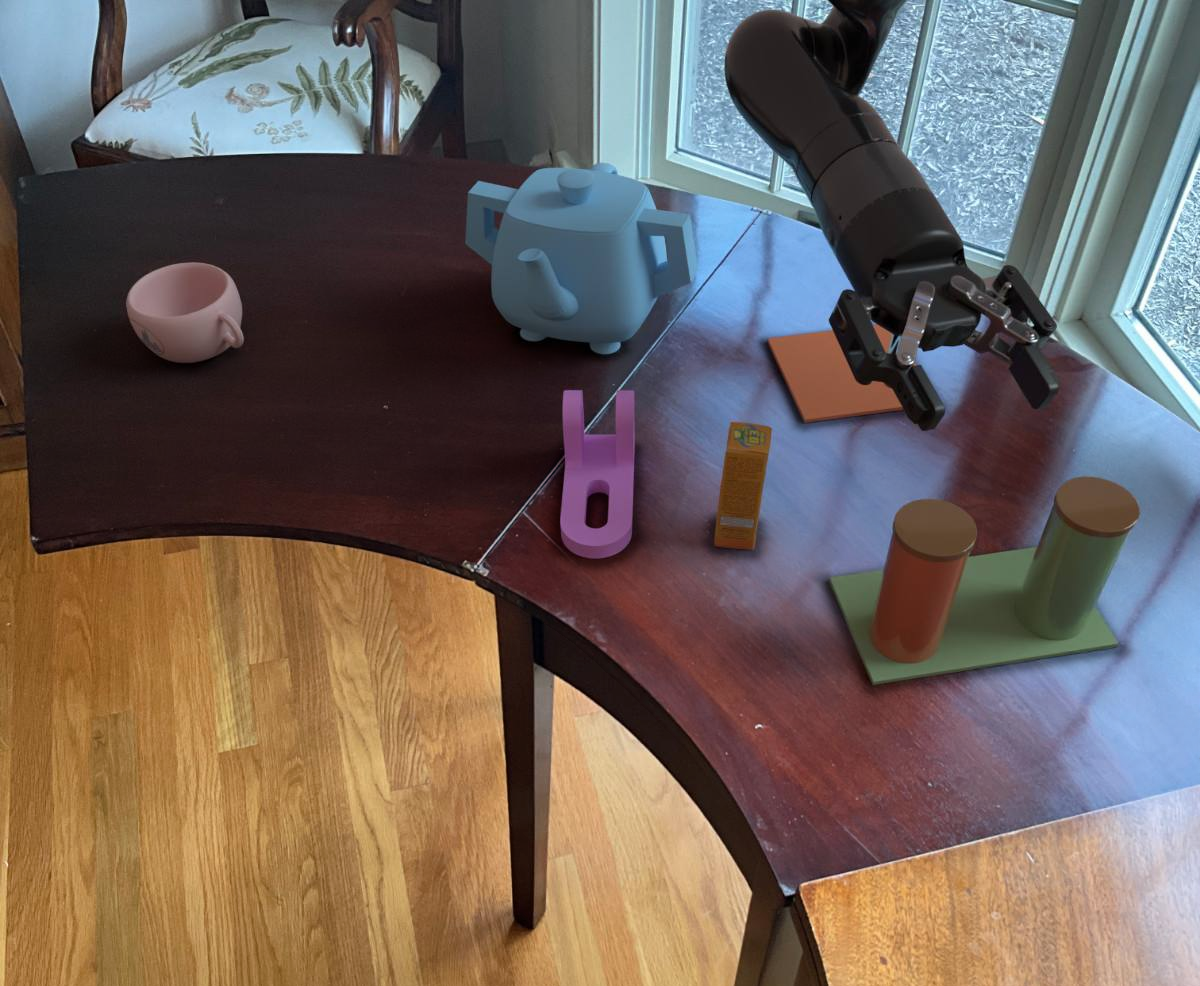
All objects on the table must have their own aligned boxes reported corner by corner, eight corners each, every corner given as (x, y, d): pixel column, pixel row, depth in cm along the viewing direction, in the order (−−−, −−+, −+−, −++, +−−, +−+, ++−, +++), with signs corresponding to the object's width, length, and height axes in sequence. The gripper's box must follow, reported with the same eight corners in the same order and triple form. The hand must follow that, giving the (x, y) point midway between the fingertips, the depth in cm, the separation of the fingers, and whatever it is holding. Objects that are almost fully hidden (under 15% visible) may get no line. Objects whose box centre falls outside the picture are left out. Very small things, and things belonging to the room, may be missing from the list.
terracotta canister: (925, 603, 81) (958, 493, 73) (952, 658, 78) (990, 549, 69) (857, 614, 81) (882, 504, 72) (881, 669, 77) (910, 561, 69)
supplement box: (758, 552, 85) (769, 453, 78) (713, 547, 86) (720, 449, 78) (760, 522, 88) (772, 423, 80) (717, 518, 88) (724, 419, 80)
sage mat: (1055, 547, 85) (1056, 543, 85) (1117, 647, 78) (1118, 643, 78) (828, 580, 83) (829, 577, 83) (872, 685, 77) (873, 681, 76)
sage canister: (1068, 582, 82) (1116, 471, 74) (1101, 635, 79) (1155, 525, 70) (1001, 592, 82) (1042, 481, 73) (1031, 646, 78) (1077, 536, 70)
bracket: (568, 447, 94) (564, 380, 89) (634, 447, 94) (634, 380, 89) (558, 558, 86) (553, 491, 80) (631, 558, 85) (630, 492, 80)
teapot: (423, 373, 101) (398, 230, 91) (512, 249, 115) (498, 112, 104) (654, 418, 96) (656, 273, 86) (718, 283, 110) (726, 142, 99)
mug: (121, 354, 104) (99, 300, 100) (199, 302, 110) (181, 248, 105) (212, 395, 100) (192, 340, 96) (288, 339, 105) (273, 285, 101)
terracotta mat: (890, 326, 104) (891, 322, 104) (937, 405, 96) (938, 401, 96) (766, 341, 103) (767, 338, 103) (804, 423, 95) (804, 419, 95)
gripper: (811, 196, 72) (920, 392, 65) (995, 173, 76) (1116, 355, 69) (777, 280, 78) (873, 466, 71) (948, 254, 82) (1054, 428, 76)
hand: (992, 411), depth 70 cm, fingers open, 8 cm apart
